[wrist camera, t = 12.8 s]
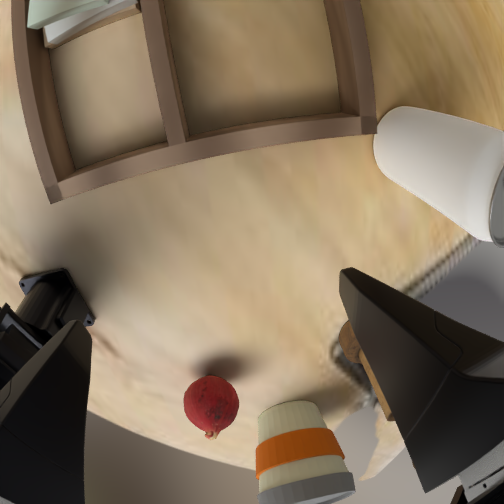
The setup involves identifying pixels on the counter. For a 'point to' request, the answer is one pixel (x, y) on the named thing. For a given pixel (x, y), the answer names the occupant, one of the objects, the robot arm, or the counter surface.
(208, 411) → the red pomegranate
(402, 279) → the counter surface
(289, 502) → the reusable coffee cup
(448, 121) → the can
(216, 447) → the counter surface
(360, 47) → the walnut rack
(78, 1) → the offcut stack
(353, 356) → the wooden pepper mill
